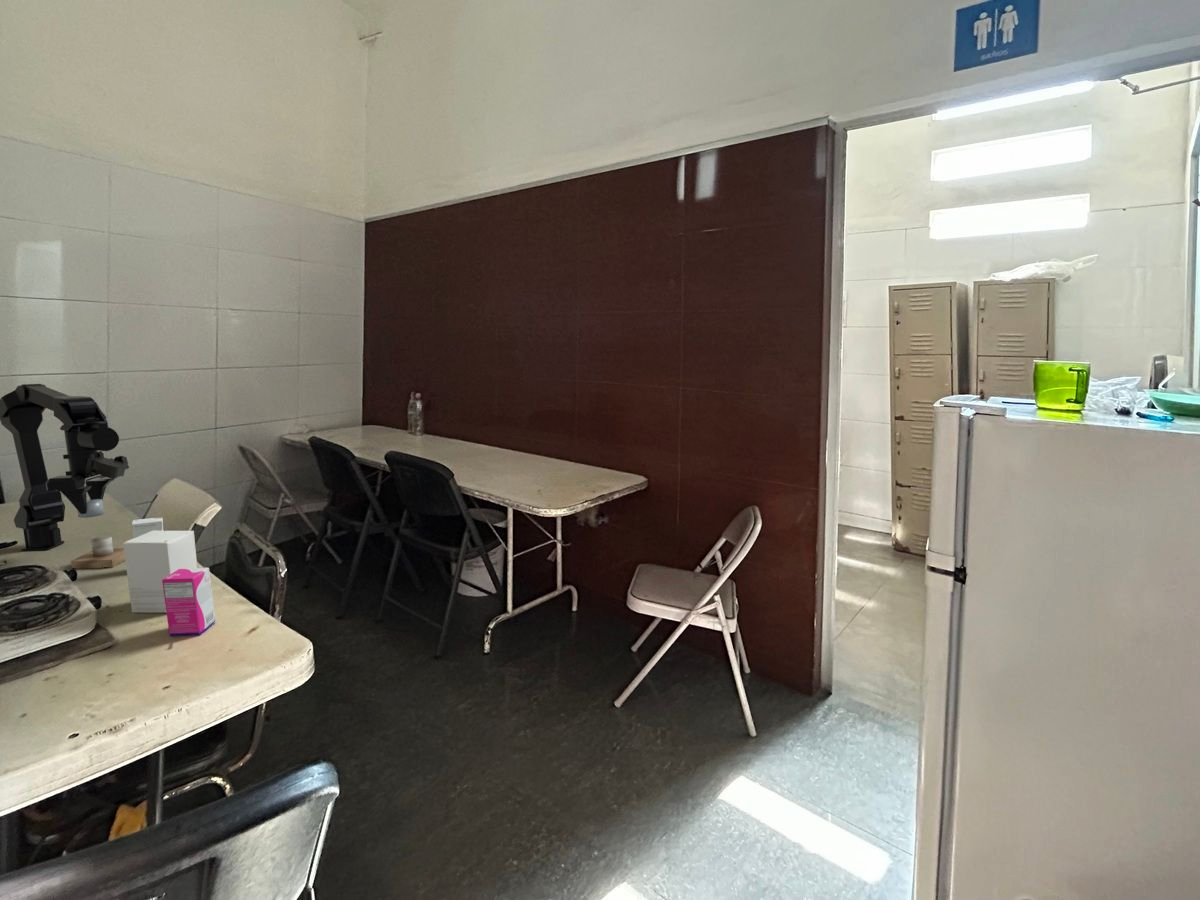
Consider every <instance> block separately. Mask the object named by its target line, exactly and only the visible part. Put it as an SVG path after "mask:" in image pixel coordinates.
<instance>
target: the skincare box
mask: <svg viewBox="0 0 1200 900" xmlns="http://www.w3.org/2000/svg"><path fill="white" fill-rule="evenodd" d="M163 518H164V517H162V516H161V517H150V518H141V519H132V521H131V522H132V523H131V531H132V539H134V538H136V537H139V536H141V535H143V534H146V533H148V532H150V531H153V530H154V531H164V521H163Z"/></svg>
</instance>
